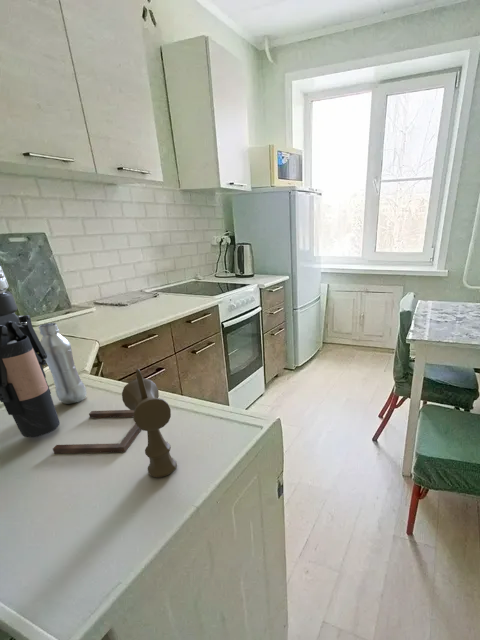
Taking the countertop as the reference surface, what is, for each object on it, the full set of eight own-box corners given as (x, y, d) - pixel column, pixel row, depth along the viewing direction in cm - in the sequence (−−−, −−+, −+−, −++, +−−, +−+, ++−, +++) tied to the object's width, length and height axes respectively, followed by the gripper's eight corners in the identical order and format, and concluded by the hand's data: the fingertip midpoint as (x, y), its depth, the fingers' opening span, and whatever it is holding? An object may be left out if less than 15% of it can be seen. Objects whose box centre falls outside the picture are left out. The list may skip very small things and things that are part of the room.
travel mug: (37, 441, 72) (-3, 348, 63) (11, 434, 74) (-30, 345, 66) (69, 421, 78) (37, 335, 69) (44, 416, 81) (11, 332, 72)
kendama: (171, 451, 69) (149, 355, 60) (188, 478, 61) (165, 373, 53) (140, 462, 66) (111, 364, 57) (153, 492, 59) (122, 384, 50)
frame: (54, 453, 70) (52, 448, 69) (93, 415, 83) (91, 410, 83) (125, 452, 69) (123, 447, 69) (153, 413, 83) (151, 409, 82)
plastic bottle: (74, 408, 87) (45, 329, 78) (53, 405, 89) (23, 328, 80) (94, 396, 92) (70, 321, 83) (75, 393, 94) (49, 320, 85)
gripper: (-45, 305, 54) (12, 430, 64) (42, 282, 73) (76, 381, 83) (-91, 307, 55) (-28, 431, 65) (7, 283, 73) (45, 382, 83)
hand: (30, 403), depth 74 cm, fingers closed on travel mug, 8 cm apart
